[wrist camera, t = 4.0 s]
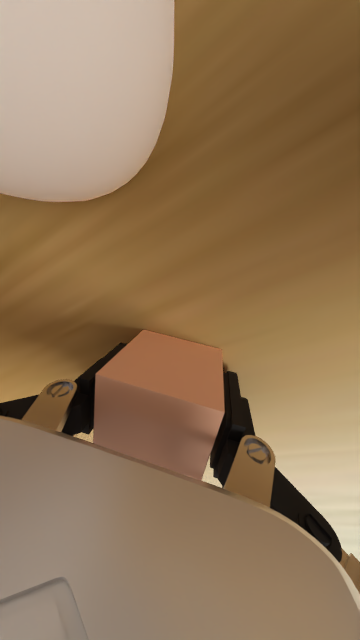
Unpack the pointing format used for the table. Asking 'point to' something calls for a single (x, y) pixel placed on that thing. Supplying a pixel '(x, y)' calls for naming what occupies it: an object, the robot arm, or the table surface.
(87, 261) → the table surface
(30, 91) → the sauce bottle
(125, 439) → the terracotta cube
